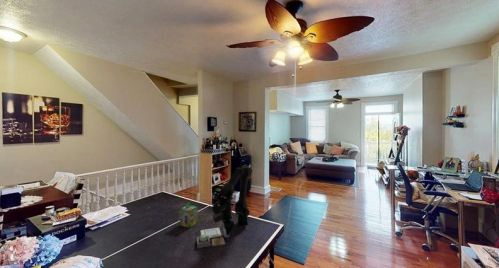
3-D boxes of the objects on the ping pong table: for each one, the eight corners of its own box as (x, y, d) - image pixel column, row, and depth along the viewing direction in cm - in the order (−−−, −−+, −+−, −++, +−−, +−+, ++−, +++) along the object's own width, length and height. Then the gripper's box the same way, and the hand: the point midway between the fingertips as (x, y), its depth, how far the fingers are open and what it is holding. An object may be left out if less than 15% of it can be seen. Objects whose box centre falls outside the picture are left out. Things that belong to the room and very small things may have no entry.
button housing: (208, 239, 122) (208, 235, 122) (210, 245, 115) (210, 241, 115) (196, 241, 119) (196, 237, 119) (197, 248, 113) (197, 243, 113)
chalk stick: (228, 233, 128) (228, 221, 127) (230, 236, 124) (230, 224, 124) (223, 234, 127) (223, 222, 126) (224, 237, 123) (224, 225, 123)
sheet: (219, 228, 135) (219, 227, 134) (221, 236, 125) (221, 235, 125) (200, 231, 131) (200, 230, 131) (201, 239, 121) (201, 238, 121)
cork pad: (223, 237, 123) (223, 237, 123) (225, 244, 117) (225, 243, 117) (211, 239, 121) (211, 239, 121) (213, 246, 114) (213, 245, 114)
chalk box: (189, 228, 135) (189, 206, 134) (179, 225, 138) (178, 204, 138) (198, 222, 143) (198, 201, 142) (188, 219, 147) (187, 199, 146)
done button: (206, 239, 120) (206, 234, 120) (207, 242, 116) (207, 237, 116) (199, 240, 118) (199, 235, 118) (200, 244, 115) (200, 238, 115)
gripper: (211, 203, 131) (211, 227, 132) (215, 216, 113) (215, 243, 114) (228, 201, 135) (228, 224, 135) (234, 213, 117) (234, 239, 117)
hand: (226, 232), depth 125 cm, fingers open, 6 cm apart
